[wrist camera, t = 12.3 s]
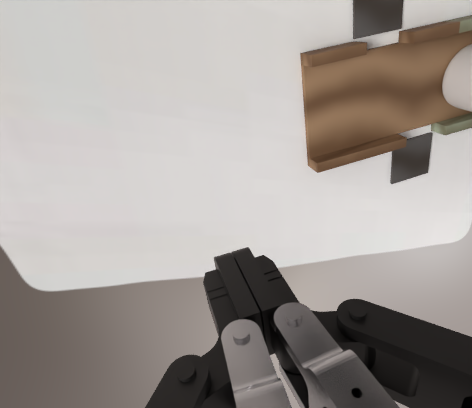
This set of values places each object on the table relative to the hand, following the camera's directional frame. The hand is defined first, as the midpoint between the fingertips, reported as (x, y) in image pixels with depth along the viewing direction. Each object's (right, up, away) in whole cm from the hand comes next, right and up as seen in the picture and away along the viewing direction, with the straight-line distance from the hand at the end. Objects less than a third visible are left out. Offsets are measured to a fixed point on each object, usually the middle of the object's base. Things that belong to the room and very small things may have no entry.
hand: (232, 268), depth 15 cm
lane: (+21, +17, +30) cm, 40 cm away
